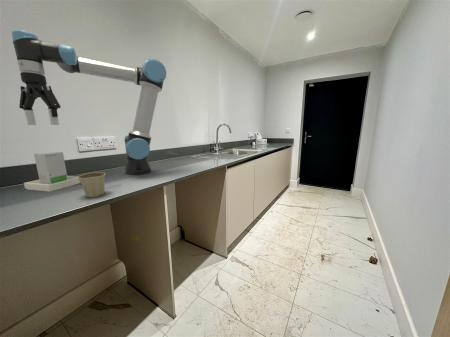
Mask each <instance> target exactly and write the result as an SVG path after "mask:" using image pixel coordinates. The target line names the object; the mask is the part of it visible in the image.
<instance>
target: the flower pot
mask: <svg viewBox="0 0 450 337" xmlns="http://www.w3.org/2000/svg"><path fill="white" fill-rule="evenodd" d="M106 175H107V174H106V173H105V172H98V171H97V172H90V173H84V174H81V175H78V176H76V177H77V178H78V179H79V180H80V182H81V183H80V184H81V186H82V188H83V191H84V194H85V197H87V198H97V197H100V196H102V195H104V194H105V178H106Z"/></svg>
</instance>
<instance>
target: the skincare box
mask: <svg viewBox="0 0 450 337" xmlns="http://www.w3.org/2000/svg"><path fill="white" fill-rule="evenodd" d="M33 156H34V160H35V163H36V170H37V174H38V180H40V184H48V185H50V184H54V183H58V182H62V181H66V180H68V177H67V176H68V173H67V172H68V171H67V168H66V162H65V157H64V152H63V151H61V152H60V151H53V152H52V151H50V152H38V153H37V152H35V153H33Z"/></svg>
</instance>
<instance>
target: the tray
mask: <svg viewBox="0 0 450 337" xmlns="http://www.w3.org/2000/svg"><path fill="white" fill-rule="evenodd" d="M67 177H68V180H66V181H62V182H58V183H54V184H50V185H48V184H40V180H39V179H36V180H31V181H28V182H26V181H25V182H23V185H24V189H25V190H27V191H28V190H29V191H37V192H38V191H39V192H47V193H48V192H54V191H58V190H61V189H65V188H69V187H72V186H75V185H79V184H81V182H80V180H79V179H78V178H77V177H78V176H72V175H67Z"/></svg>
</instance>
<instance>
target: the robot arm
mask: <svg viewBox="0 0 450 337" xmlns="http://www.w3.org/2000/svg"><path fill="white" fill-rule="evenodd" d="M11 36H12V44H13V48H14V52H15V55H16V60H17V64H18V70H19V71H20V74H19V75H20V80H21V82H22V83H23V84H25V85H26V86H22V85H21V86H20V95H19V96H20V98H19V106H18V107H19V109H22V110H23V111H24V114H25V115H24V116H25V118H26V123H27V126H37V121H36V117H35V112H34V110H33V107H34V104H35V102H36V100H37V99H38V98H40V99H41V100H42V101H43V103H45V105H46V106H47V111H48V117H49V121H50V125H51V126H59V125H60V122H59V118H58V117H59V114H58V109H61V107H62V106H61V104H60V103H59V101H58V99H57V97H56V96H55V94H54V92H53V89H52V87H51V85H48V84H47V79H46V76H45V75H46V73H45V71H46V70H45V67H44V63H43V61H44V62H49V63H50V62H51V63H55V64H57V65H58V66H59V68H60V69H61V70H62V71H64V72H66V73H68V74H76V73H78V74H84V75H90V76H95V77H100V78H107V79H112V80H118V81H122V82H123V81H124V82H130V83H134V84H135V85H136V86H140V87H141V88H140V93H139V98H138V101H137V102H138V103H137V107H136V112H135V116H134V122H133V126H132V130H131V131H129V132H128V135H125V137H124V144H125V145H124V146H125V154H126V155H125V156H126V164H125V168H124V172H125V173H124V174H127V175H142V174H147V173H151V171H152V167H151V166H150V165H151V164H150V162H149V160H148V155H149V154H150V153H151V147H150V146H151V145H150V144H151V140H152V137H151V135H150V133H151V132H150V131H151V127H152V123H153V118H154V113H155V108H156V106H157V99H158V95H159V93H160V92H162V90H163V86H164V81H166V77H167V70H166V67H165V65H164V64H163V63H162V62H161V61H160V60H158V59H156V58H148V59H145V61H144V62H143V64H142V67H138V66H135V67H129V66H125V65H120V64H116V63H111V62H105V61H102V60H101V61H100V60H96V59H95V60H94V59H90V58H86V57H81V56H77V53H76V50H75V48H74V47H73V46H70V45H67V44H63V43H56V42H51V41H50V42H49V41H43V40H40V39H39V38H38V36H37V35H36V34H34V33H32V32H30V31H26V30H24V29H13V30H12V31H11Z"/></svg>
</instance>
